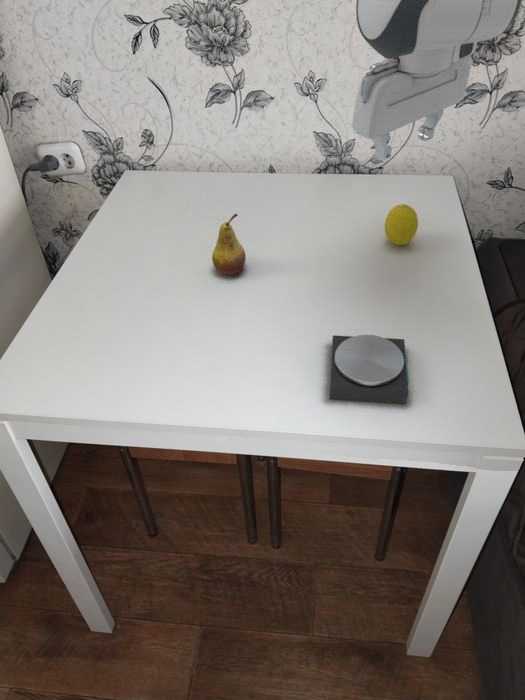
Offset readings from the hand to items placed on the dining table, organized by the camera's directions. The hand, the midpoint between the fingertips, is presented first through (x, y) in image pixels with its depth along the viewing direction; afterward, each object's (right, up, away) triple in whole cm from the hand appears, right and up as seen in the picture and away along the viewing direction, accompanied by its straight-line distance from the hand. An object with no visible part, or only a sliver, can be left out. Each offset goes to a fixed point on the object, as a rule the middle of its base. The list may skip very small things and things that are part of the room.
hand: (404, 148), depth 88 cm
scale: (-7, -34, -6) cm, 35 cm away
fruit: (-27, -17, +13) cm, 34 cm away
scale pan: (-7, -32, -8) cm, 33 cm away
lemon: (+3, -12, +16) cm, 20 cm away
